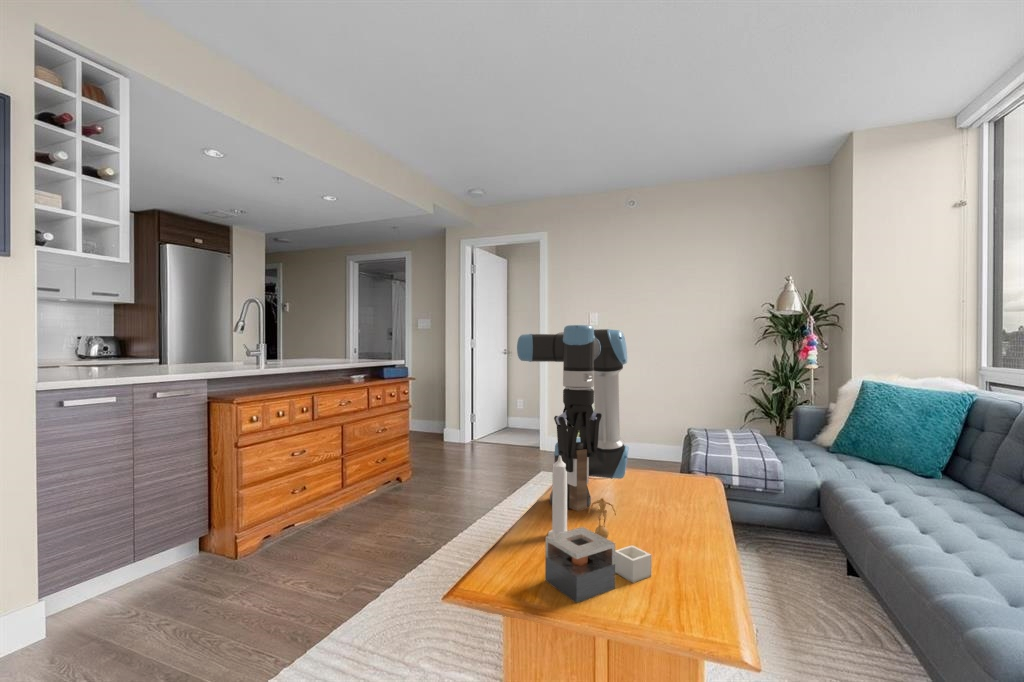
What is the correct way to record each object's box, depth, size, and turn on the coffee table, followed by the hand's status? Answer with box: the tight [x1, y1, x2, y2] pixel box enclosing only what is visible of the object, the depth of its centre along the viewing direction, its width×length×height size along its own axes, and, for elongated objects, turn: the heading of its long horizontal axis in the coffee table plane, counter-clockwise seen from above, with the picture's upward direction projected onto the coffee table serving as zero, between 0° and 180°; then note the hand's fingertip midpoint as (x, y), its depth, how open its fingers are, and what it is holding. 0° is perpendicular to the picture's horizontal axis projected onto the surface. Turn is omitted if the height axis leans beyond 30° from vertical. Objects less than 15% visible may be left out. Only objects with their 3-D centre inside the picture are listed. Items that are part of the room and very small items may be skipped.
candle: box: [547, 455, 568, 536], centre depth 147 cm, size 7×7×25 cm
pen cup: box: [615, 544, 652, 584], centre depth 123 cm, size 7×7×6 cm
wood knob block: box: [569, 442, 588, 512], centre depth 117 cm, size 3×3×16 cm
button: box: [572, 545, 588, 567], centre depth 117 cm, size 4×4×6 cm
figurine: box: [587, 497, 617, 539], centre depth 145 cm, size 8×6×12 cm
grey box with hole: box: [544, 526, 616, 604], centre depth 117 cm, size 12×12×11 cm
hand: (578, 483), depth 117 cm, fingers closed on wood knob block, 3 cm apart
